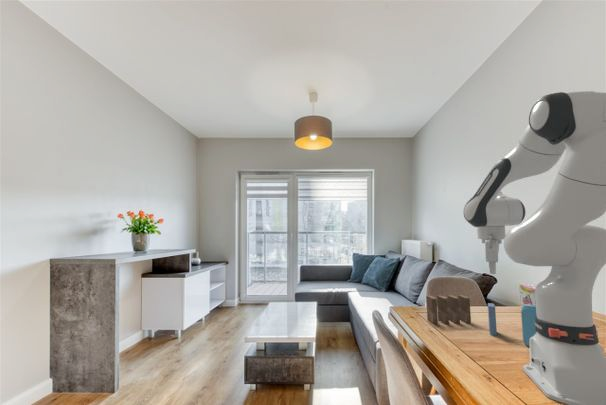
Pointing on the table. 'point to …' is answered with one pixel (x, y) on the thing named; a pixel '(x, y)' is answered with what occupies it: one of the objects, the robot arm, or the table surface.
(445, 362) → the table surface
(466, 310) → the domino
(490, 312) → the domino
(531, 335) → the data package
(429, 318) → the domino
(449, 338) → the table surface
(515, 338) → the table surface
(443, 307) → the domino
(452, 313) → the domino
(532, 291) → the candy bar box
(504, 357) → the table surface
